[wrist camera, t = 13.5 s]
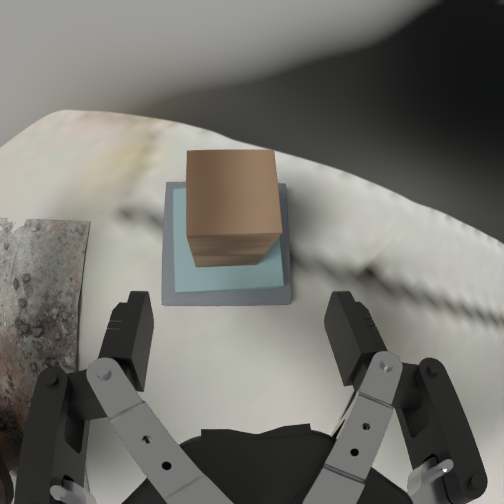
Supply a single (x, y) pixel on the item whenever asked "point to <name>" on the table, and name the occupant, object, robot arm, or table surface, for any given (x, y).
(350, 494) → the robot arm
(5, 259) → the valve
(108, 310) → the table surface
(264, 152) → the walnut pillar
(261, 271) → the tower top slab
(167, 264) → the tower base slab
